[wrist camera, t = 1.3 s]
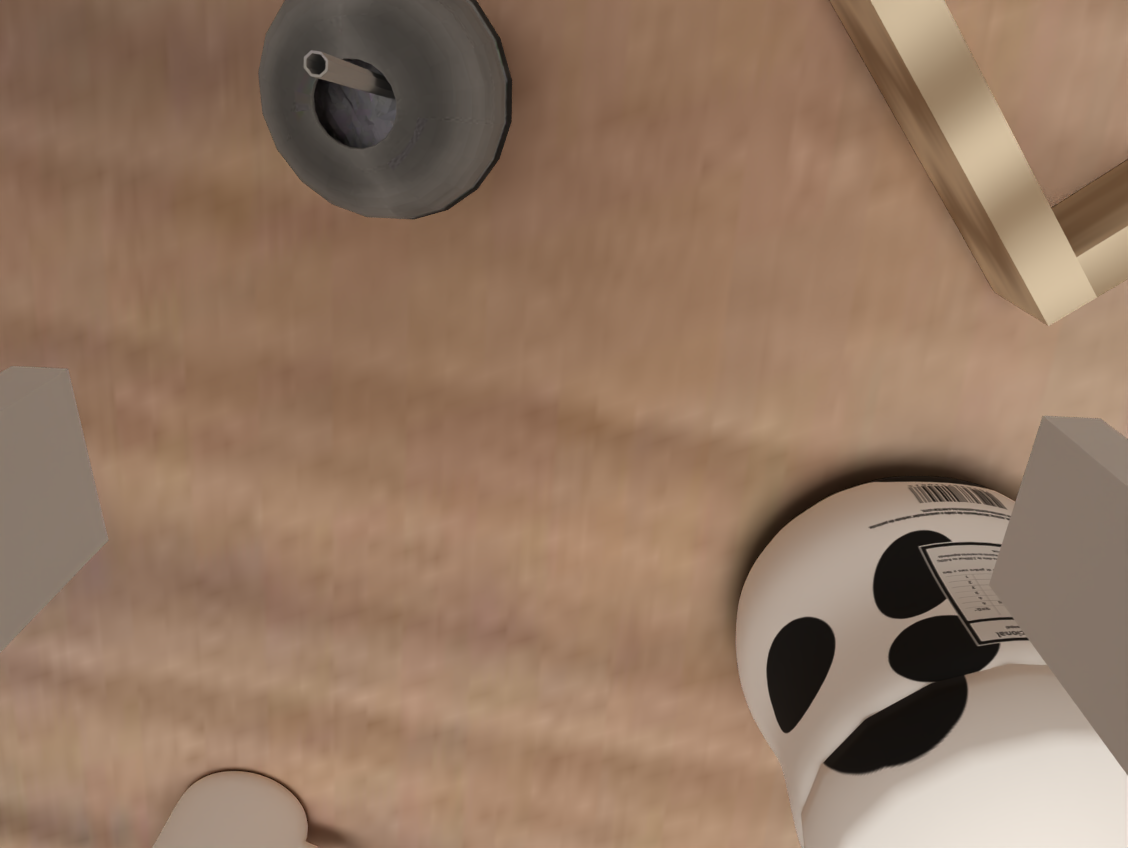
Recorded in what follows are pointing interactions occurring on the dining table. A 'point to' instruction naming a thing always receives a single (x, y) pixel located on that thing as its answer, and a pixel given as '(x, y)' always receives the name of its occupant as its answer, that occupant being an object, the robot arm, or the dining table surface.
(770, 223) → the dining table surface
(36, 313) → the dining table surface
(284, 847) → the mug
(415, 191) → the beverage cup
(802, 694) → the milk container
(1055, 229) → the bumper
